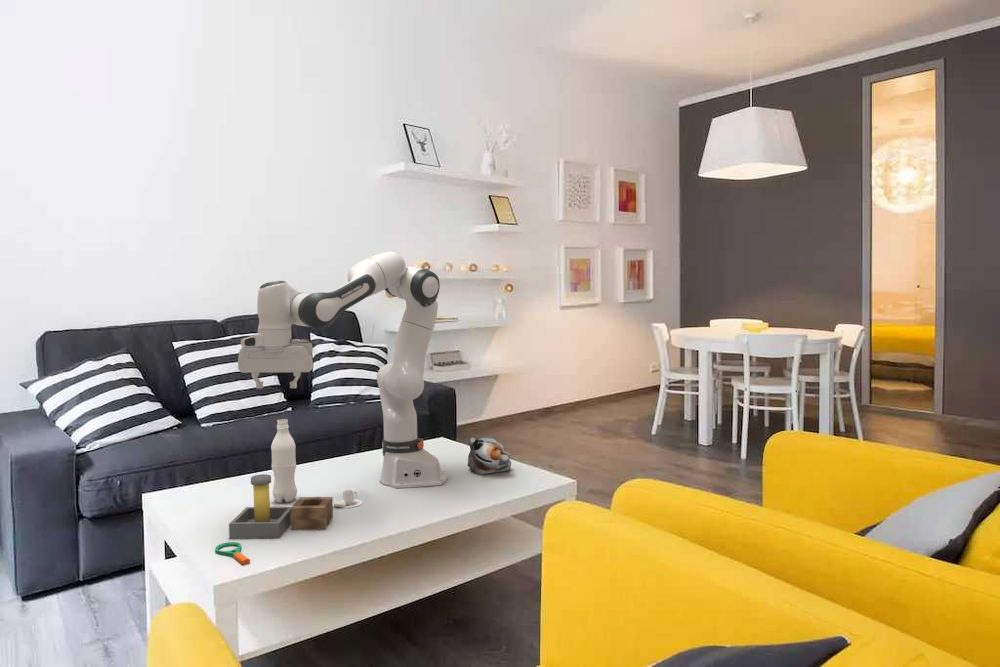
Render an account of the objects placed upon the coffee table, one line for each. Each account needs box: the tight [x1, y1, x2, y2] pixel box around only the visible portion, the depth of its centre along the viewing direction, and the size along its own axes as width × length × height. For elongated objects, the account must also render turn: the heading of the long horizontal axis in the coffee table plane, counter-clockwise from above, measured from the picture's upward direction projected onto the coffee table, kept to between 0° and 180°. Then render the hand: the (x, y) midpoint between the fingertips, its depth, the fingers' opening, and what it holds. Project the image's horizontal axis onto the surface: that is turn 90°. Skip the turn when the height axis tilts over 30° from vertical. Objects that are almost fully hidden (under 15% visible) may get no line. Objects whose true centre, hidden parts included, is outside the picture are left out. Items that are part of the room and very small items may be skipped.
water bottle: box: [270, 418, 298, 504], centre depth 210 cm, size 7×7×25 cm
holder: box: [290, 496, 334, 531], centre depth 191 cm, size 9×9×6 cm
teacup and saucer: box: [332, 489, 363, 509], centre depth 207 cm, size 9×8×4 cm
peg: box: [250, 473, 272, 522], centre depth 186 cm, size 5×5×14 cm
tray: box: [228, 506, 292, 540], centre depth 187 cm, size 13×13×4 cm
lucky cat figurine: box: [467, 436, 512, 476], centre depth 239 cm, size 17×14×16 cm
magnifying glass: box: [214, 541, 251, 566], centre depth 170 cm, size 15×6×2 cm, turn 41°
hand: (276, 388), depth 194 cm, fingers open, 8 cm apart
